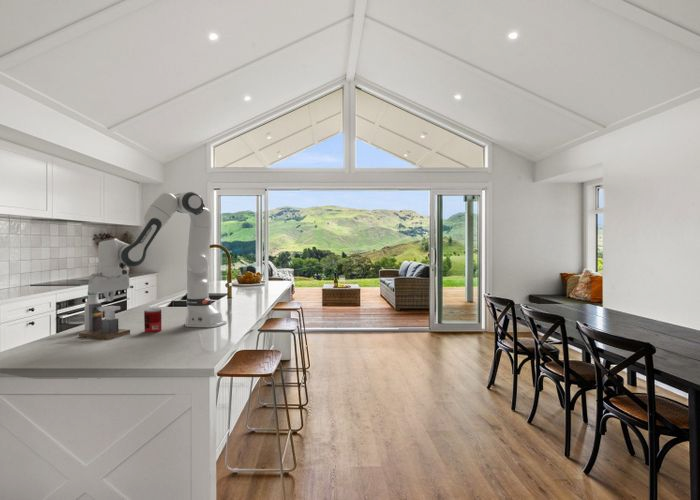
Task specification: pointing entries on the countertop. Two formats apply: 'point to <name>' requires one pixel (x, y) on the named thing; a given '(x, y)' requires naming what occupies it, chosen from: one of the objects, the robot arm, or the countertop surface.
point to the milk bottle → (91, 300)
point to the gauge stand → (102, 326)
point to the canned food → (152, 320)
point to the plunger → (109, 311)
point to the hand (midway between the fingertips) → (109, 300)
